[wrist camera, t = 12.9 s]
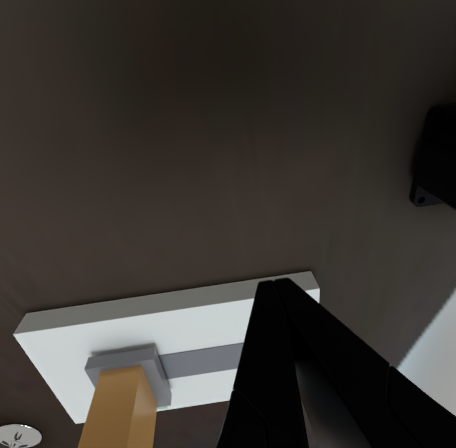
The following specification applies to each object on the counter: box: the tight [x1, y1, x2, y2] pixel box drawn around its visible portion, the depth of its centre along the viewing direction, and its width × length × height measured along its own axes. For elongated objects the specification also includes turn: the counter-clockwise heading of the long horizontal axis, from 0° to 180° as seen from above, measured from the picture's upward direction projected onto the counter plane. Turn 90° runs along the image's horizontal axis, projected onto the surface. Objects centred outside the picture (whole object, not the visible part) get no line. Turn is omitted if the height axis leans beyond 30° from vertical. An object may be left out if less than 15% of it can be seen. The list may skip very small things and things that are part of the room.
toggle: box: [78, 347, 172, 448], centre depth 21 cm, size 5×6×8 cm
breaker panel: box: [13, 271, 320, 424], centre depth 26 cm, size 22×12×2 cm, turn 97°
